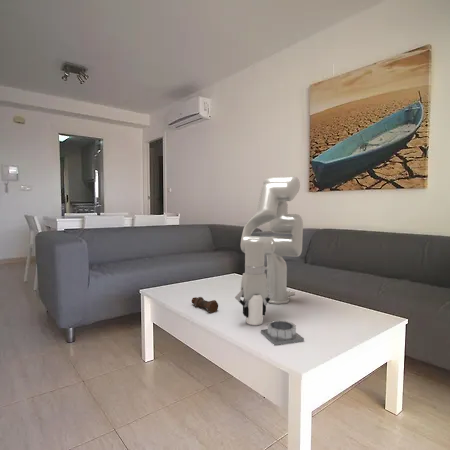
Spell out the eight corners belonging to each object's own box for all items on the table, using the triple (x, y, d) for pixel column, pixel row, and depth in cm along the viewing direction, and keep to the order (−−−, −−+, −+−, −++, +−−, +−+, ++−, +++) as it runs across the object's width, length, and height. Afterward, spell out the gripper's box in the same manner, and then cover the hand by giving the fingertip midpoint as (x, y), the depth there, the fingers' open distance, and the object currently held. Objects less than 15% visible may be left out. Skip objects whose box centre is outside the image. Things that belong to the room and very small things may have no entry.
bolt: (195, 308, 143) (215, 315, 132) (187, 304, 140) (207, 311, 129) (200, 296, 145) (220, 302, 134) (192, 292, 142) (212, 298, 131)
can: (252, 318, 124) (252, 289, 123) (265, 322, 120) (265, 292, 119) (242, 323, 119) (242, 293, 118) (256, 327, 115) (256, 296, 114)
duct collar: (287, 329, 113) (287, 318, 113) (303, 341, 103) (304, 329, 103) (260, 332, 110) (260, 321, 110) (274, 345, 100) (274, 333, 99)
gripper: (270, 267, 125) (270, 310, 126) (230, 269, 119) (230, 314, 120) (279, 270, 117) (278, 316, 118) (237, 273, 112) (236, 321, 113)
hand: (254, 314), depth 119 cm, fingers open, 6 cm apart
